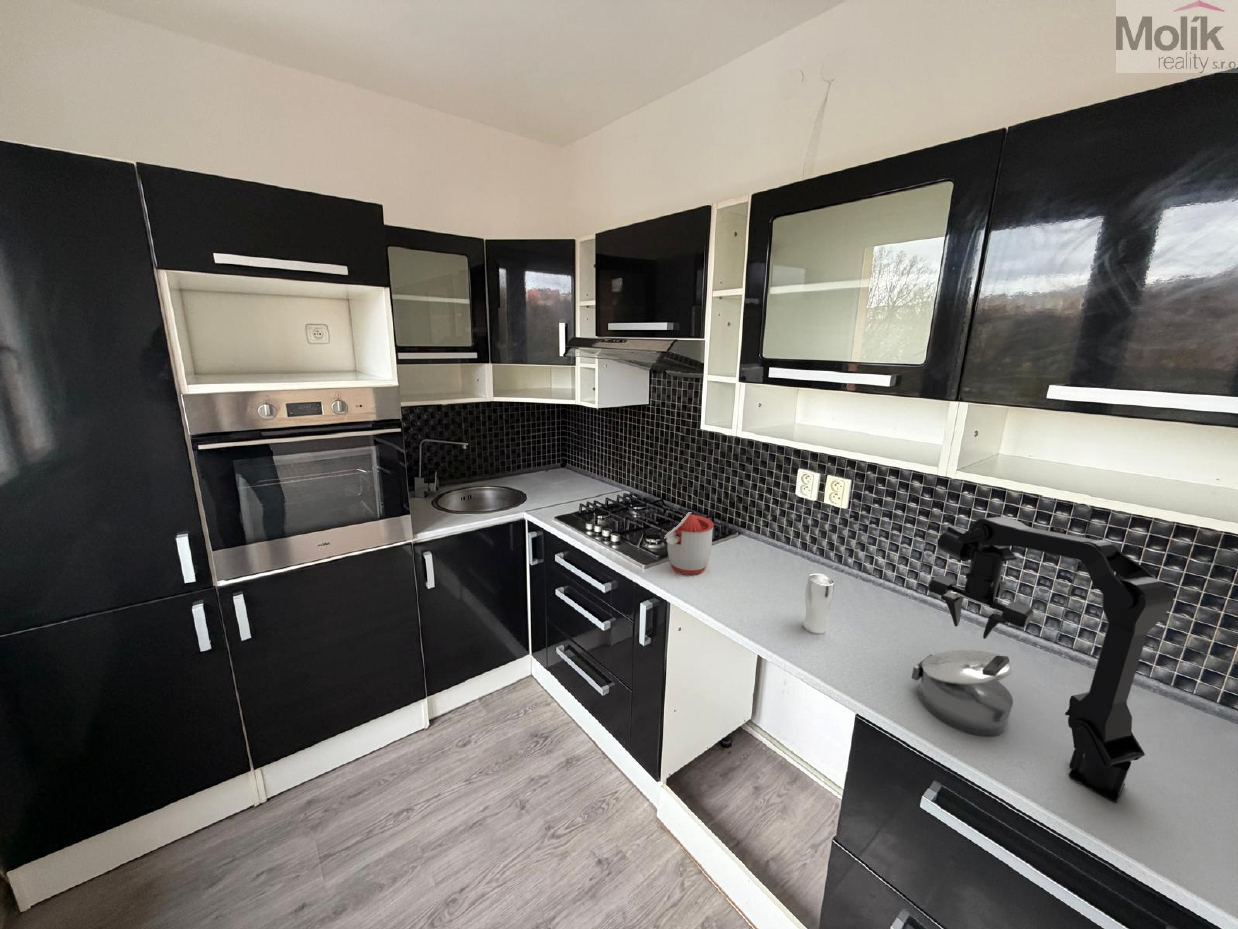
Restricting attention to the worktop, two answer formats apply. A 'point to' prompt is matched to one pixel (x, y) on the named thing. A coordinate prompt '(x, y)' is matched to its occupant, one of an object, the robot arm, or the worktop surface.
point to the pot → (966, 704)
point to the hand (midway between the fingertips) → (970, 632)
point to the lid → (966, 667)
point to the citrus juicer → (690, 545)
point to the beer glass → (818, 602)
